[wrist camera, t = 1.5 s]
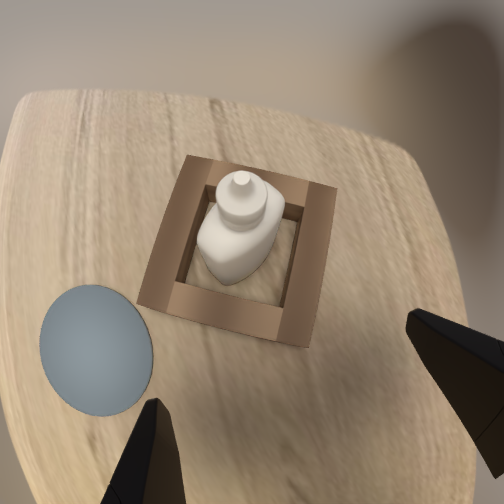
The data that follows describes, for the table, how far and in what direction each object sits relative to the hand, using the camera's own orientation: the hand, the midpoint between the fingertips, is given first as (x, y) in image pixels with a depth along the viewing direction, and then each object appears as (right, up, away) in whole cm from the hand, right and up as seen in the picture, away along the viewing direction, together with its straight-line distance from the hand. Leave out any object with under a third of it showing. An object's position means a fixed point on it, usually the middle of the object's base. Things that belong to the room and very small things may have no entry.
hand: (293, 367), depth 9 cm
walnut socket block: (-2, +4, +15) cm, 15 cm away
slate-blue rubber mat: (-14, -4, +12) cm, 19 cm away
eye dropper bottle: (-2, +4, +15) cm, 16 cm away
